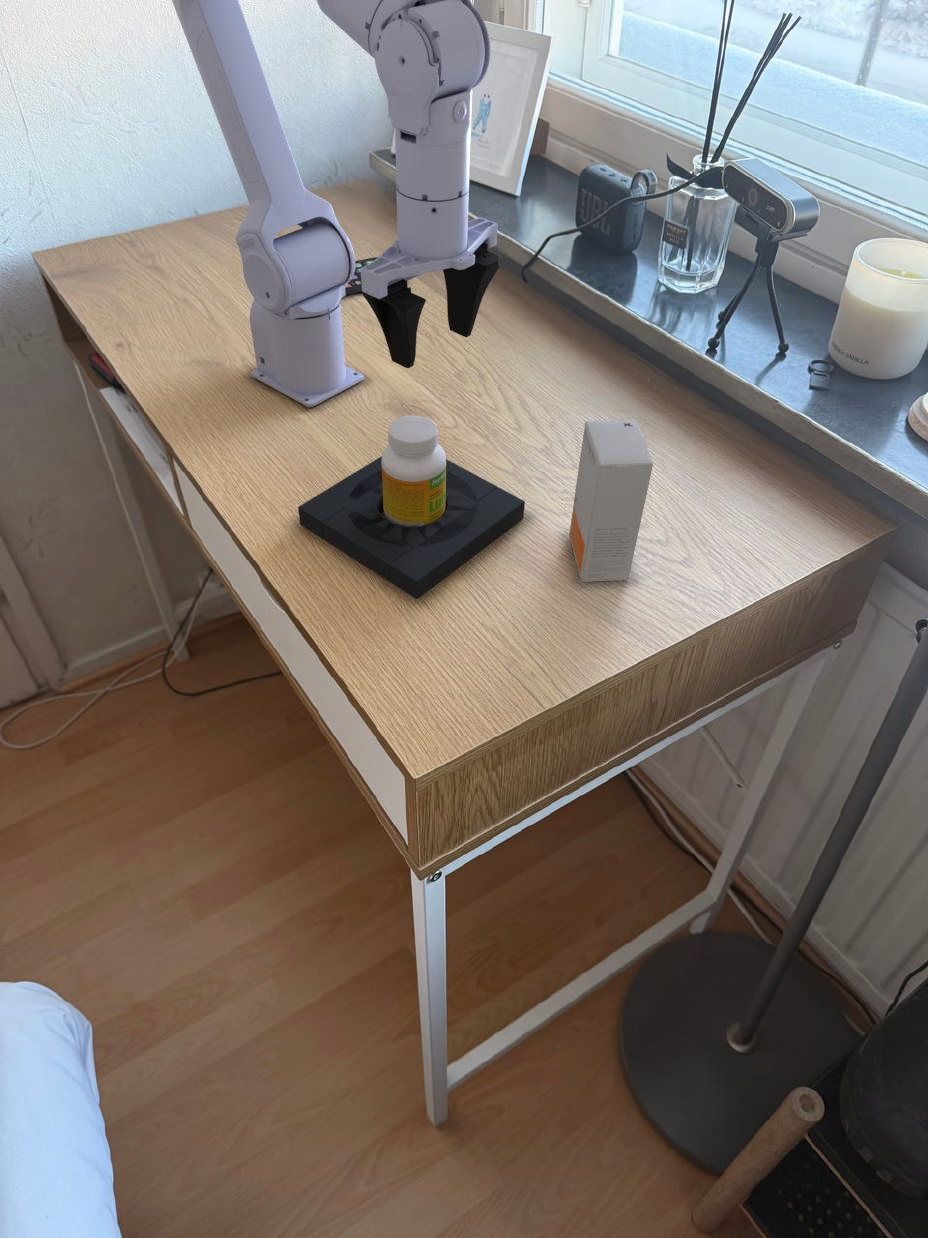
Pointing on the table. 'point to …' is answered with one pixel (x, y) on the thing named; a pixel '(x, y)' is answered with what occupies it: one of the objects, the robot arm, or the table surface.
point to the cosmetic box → (609, 499)
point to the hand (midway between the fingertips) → (432, 347)
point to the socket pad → (418, 550)
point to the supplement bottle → (413, 473)
